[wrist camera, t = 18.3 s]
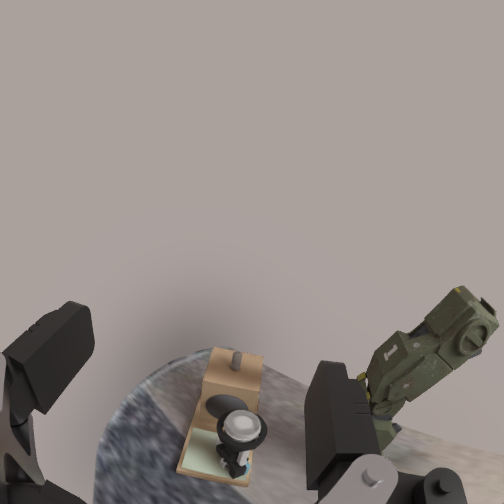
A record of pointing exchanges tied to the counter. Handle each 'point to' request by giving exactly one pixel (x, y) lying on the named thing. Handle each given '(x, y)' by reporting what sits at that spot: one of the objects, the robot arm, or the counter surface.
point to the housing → (220, 412)
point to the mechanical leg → (425, 356)
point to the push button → (238, 439)
